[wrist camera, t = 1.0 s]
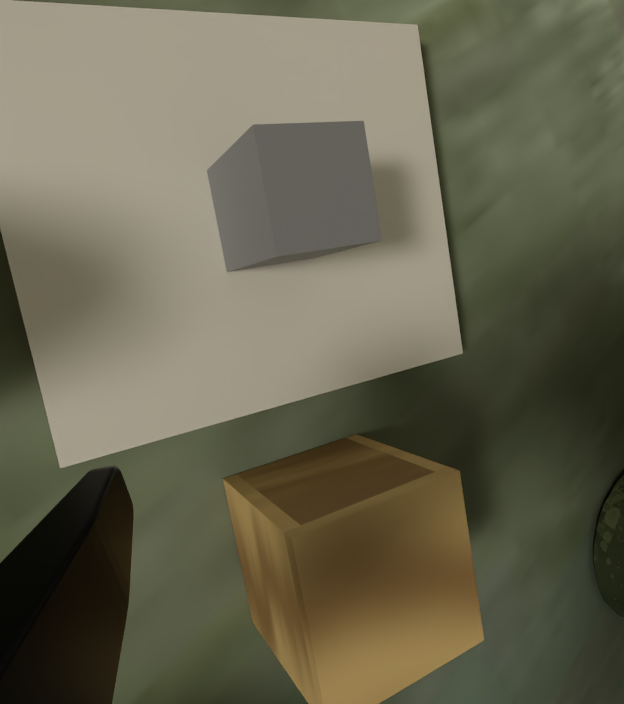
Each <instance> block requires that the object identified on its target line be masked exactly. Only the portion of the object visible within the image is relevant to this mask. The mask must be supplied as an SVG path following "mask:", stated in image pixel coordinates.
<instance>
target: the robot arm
mask: <svg viewBox="0 0 624 704" xmlns="http://www.w3.org/2000/svg"><path fill="white" fill-rule="evenodd" d="M132 534H133V505H132V501H131V498H130V495H129V492H128V490H127V487H126V484H125V481H124V479H123V476H122V473H121V471H120V469H119V468H118V467H116V466H108V467H102V468H96V469H92V470H90V471H89V472H88V473H87V474H86V475H85V476H84V477H83V478H82V479H81V480H80V481H79V482H78V483H77V484H76V485H75V486H74V487H73V488H72V489H71V490H70V491H69V493H68V494H67V495H66V496H65V497H64V498H63V499H62V500H61V501H60V502H59V503H58V504H57V505H56V506H55V507H54V508H53V509H52V510H51V511H50V512H49V513H48V514H47V515H46V516H45V517H44V518H43V519H42V520H41V522H40V523H39V524H38V525H37V526H36V527H35V528H34V529H33V530H32V531H31V532H30V533H29V534H28V535H27V536H26V537H25V538H24V539H23V540H22V541H21V542H20V543H19V544H18V545H17V546H16V547H15V548H14V550H13V551H12V552H11V553H10V554H9V555H8V556H7V557H6V558H5V559H4V560H3V561H2V562H1V563H0V704H112V700H113V694H114V688H115V682H116V676H117V670H118V665H119V659H120V653H121V647H122V641H123V635H124V630H125V624H126V617H127V610H128V603H129V590H130V571H131V553H132Z"/></svg>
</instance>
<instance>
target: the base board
mask: <svg viewBox="0 0 624 704" xmlns="http://www.w3.org/2000/svg"><path fill="white" fill-rule="evenodd" d="M0 230H1V234H2V238H3V242H4V246H5V250H6V254H7V258H8V262H9V266H10V270H11V274H12V278H13V282H14V286H15V290H16V294H17V298H18V302H19V306H20V310H21V314H22V318H23V322H24V326H25V330H26V334H27V338H28V342H29V346H30V350H31V354H32V358H33V362H34V365H35V369H36V373H37V377H38V381H39V385H40V389H41V393H42V397H43V401H44V405H45V409H46V413H47V417H48V421H49V425H50V429H51V433H52V437H53V441H54V445H55V449H56V453H57V457H58V461H59V465H60V468H63V467H66V466H70V465H73V464H77V463H80V462H84V461H87V460H91V459H94V458H98V457H101V456H105V455H108V454H112V453H115V452H119V451H122V450H126V449H130V448H133V447H137V446H140V445H144V444H147V443H151V442H154V441H158V440H161V439H165V438H168V437H172V436H175V435H179V434H182V433H186V432H189V431H193V430H196V429H200V428H203V427H207V426H210V425H214V424H217V423H221V422H224V421H228V420H231V419H235V418H238V417H242V416H245V415H249V414H252V413H256V412H259V411H263V410H266V409H270V408H273V407H277V406H280V405H284V404H287V403H291V402H294V401H298V400H301V399H305V398H308V397H312V396H315V395H319V394H322V393H326V392H329V391H333V390H336V389H340V388H343V387H347V386H350V385H354V384H358V383H361V382H365V381H368V380H372V379H375V378H379V377H382V376H386V375H389V374H393V373H396V372H400V371H403V370H407V369H410V368H414V367H417V366H421V365H424V364H428V363H431V362H435V361H438V360H442V359H445V358H449V357H452V356H456V355H459V354H463V350H462V343H461V335H460V328H459V321H458V314H457V307H456V299H455V292H454V285H453V278H452V270H451V263H450V256H449V249H448V242H447V234H446V227H445V220H444V213H443V205H442V198H441V191H440V184H439V177H438V169H437V162H436V155H435V148H434V140H433V133H432V126H431V119H430V112H429V104H428V97H427V90H426V83H425V76H424V68H423V61H422V54H421V47H420V39H419V32H418V25H411V24H395V23H378V22H362V21H345V20H328V19H312V18H295V17H279V16H262V15H245V14H229V13H212V12H196V11H179V10H162V9H146V8H129V7H113V6H96V5H79V4H63V3H46V2H30V1H13V0H0Z"/></svg>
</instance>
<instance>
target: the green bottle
mask: <svg viewBox="0 0 624 704" xmlns="http://www.w3.org/2000/svg"><path fill="white" fill-rule="evenodd" d="M593 562H594V567H595V572H596V578H597V583H598V587H599V590H600V592H601V594H602V596H603V599H604V600H605V601H606V603H607V604H608V605H609V606H610V607H611V608H612V609H613V610H614V611H615V612H616V613H617V614H618V615H620V616H622V617H624V474H623V475H622V477H621V478H620V479H619V480H618V481H617V482H616V483H615V485H614V487H613V488H612V490H611V492H610V494H609V496H608V497H607V499H606V501H605V503H604V504H603V507H602V510H601V512H600V515H599V518H598V522H597V528H596V534H595V540H594V545H593Z"/></svg>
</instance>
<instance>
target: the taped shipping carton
mask: <svg viewBox="0 0 624 704" xmlns="http://www.w3.org/2000/svg"><path fill="white" fill-rule="evenodd" d="M223 482H224V487H225V491H226V496H227V501H228V506H229V511H230V515H231V520H232V525H233V530H234V535H235V539H236V544H237V549H238V554H239V559H240V563H241V568H242V573H243V578H244V583H245V588H246V592H247V597H248V602H249V607H250V612H251V616H252V621H253V623H254V625H255V626H256V628H257V629H258V631H259V632H260V634H261V635H262V637H263V638H264V639H265V641H266V642H267V644H268V645H269V647H270V648H271V650H272V651H273V653H274V654H275V656H276V657H277V658H278V660H279V661H280V663H281V664H282V666H283V667H284V669H285V670H286V672H287V673H288V674H289V676H290V677H291V679H292V680H293V682H294V683H295V685H296V686H297V688H298V689H299V691H300V692H301V693H302V695H303V696H304V698H305V699H306V701H307V702H308V704H379V703H381V702H382V701H384V700H386V699H387V698H389V697H391V696H392V695H394V694H396V693H397V692H399V691H400V690H402V689H404V688H405V687H407V686H409V685H410V684H412V683H414V682H415V681H417V680H419V679H420V678H422V677H424V676H425V675H427V674H429V673H430V672H432V671H434V670H435V669H437V668H439V667H440V666H442V665H444V664H445V663H447V662H449V661H450V660H452V659H454V658H455V657H457V656H459V655H460V654H462V653H464V652H465V651H467V650H469V649H470V648H472V647H474V646H475V645H477V644H478V643H480V642H482V641H483V640H484V636H483V629H482V622H481V615H480V608H479V601H478V594H477V587H476V580H475V573H474V566H473V559H472V553H471V546H470V539H469V532H468V525H467V518H466V511H465V504H464V497H463V490H462V483H461V476H460V471H459V470H456V469H454V468H451V467H448V466H445V465H442V464H439V463H437V462H434V461H431V460H428V459H425V458H422V457H420V456H417V455H414V454H411V453H408V452H405V451H403V450H400V449H397V448H394V447H391V446H388V445H386V444H383V443H380V442H377V441H374V440H371V439H369V438H366V437H363V436H360V435H357V434H355V435H352V436H349V437H346V438H343V439H340V440H337V441H334V442H331V443H328V444H325V445H322V446H319V447H316V448H313V449H310V450H307V451H304V452H301V453H298V454H295V455H292V456H289V457H286V458H283V459H280V460H277V461H274V462H271V463H268V464H265V465H262V466H259V467H256V468H253V469H250V470H247V471H244V472H241V473H238V474H235V475H232V476H229V477H226V478H223Z"/></svg>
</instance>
